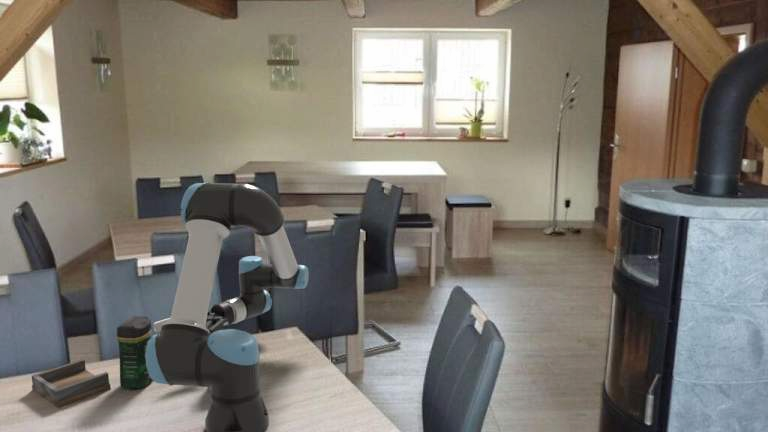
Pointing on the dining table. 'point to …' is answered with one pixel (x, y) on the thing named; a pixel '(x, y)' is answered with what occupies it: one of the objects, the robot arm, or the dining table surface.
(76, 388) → the rail dock
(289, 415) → the dining table surface
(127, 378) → the coffee jar
